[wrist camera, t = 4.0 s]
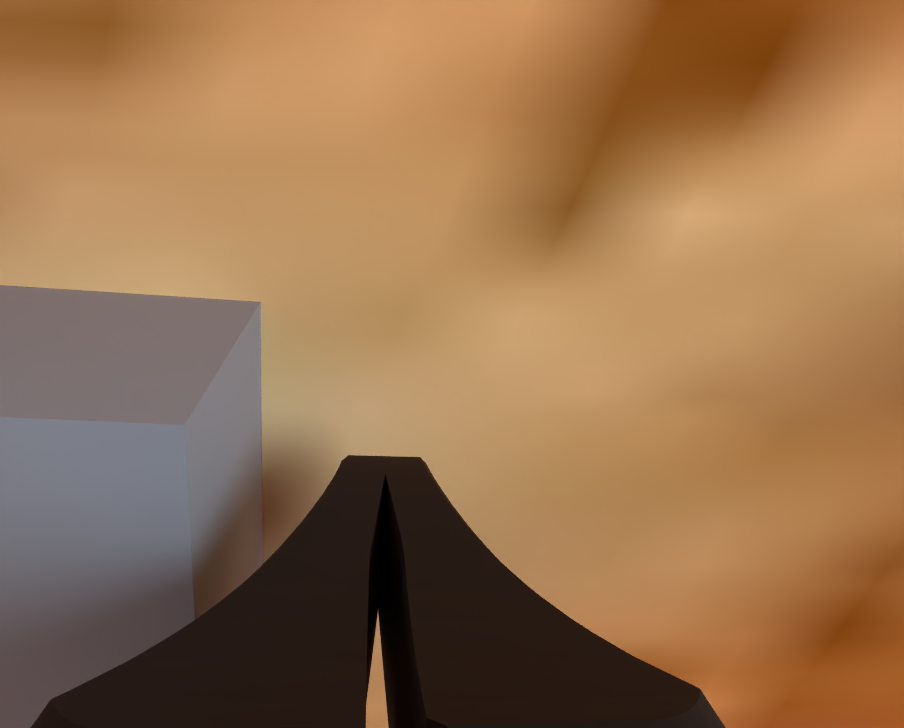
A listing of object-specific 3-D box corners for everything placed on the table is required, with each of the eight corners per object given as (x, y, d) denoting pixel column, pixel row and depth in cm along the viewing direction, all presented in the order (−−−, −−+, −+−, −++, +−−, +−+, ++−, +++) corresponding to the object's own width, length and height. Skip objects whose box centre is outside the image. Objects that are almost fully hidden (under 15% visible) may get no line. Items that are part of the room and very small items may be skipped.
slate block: (263, 573, 14) (203, 802, 10) (-42, 567, 14) (-266, 811, 9) (261, 300, 12) (184, 425, 7) (-102, 276, 11) (-436, 398, 7)
